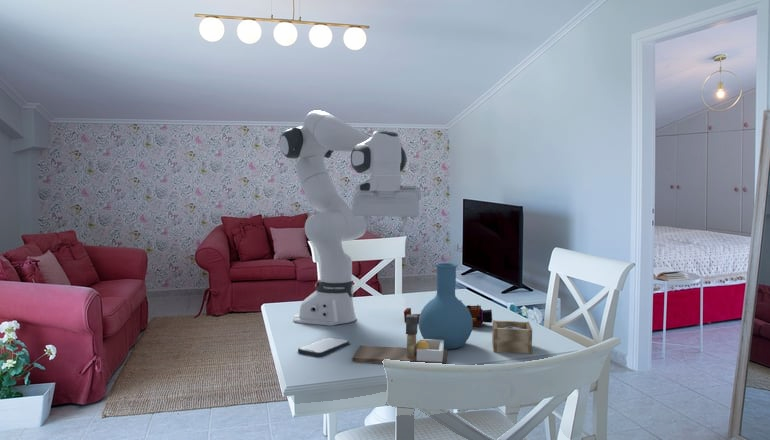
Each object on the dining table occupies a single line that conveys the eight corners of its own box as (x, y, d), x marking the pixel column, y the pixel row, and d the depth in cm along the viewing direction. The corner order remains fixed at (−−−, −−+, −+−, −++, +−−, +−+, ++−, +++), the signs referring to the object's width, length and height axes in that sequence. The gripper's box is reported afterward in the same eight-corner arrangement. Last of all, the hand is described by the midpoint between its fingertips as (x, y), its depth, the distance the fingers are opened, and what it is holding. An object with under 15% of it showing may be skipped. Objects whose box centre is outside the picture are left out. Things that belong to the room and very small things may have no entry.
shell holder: (493, 351, 173) (494, 328, 172) (492, 342, 183) (492, 320, 182) (531, 353, 171) (532, 330, 171) (528, 344, 181) (528, 321, 181)
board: (352, 361, 163) (352, 357, 163) (359, 349, 174) (360, 345, 174) (445, 366, 159) (445, 362, 159) (447, 353, 171) (447, 349, 171)
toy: (412, 300, 222) (492, 297, 215) (413, 318, 222) (494, 316, 215) (397, 316, 196) (488, 313, 189) (399, 336, 197) (490, 335, 189)
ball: (430, 355, 163) (416, 357, 164) (430, 351, 167) (417, 353, 168) (427, 342, 163) (413, 343, 164) (428, 338, 167) (414, 339, 168)
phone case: (327, 341, 185) (295, 353, 171) (327, 336, 184) (295, 348, 171) (351, 345, 180) (320, 358, 166) (351, 340, 180) (320, 353, 166)
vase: (471, 338, 187) (472, 261, 185) (473, 354, 171) (474, 269, 169) (419, 336, 189) (420, 259, 187) (416, 351, 173) (417, 268, 171)
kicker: (405, 356, 163) (405, 318, 163) (407, 350, 169) (407, 313, 169) (415, 357, 163) (416, 318, 162) (417, 350, 169) (418, 313, 168)
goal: (416, 360, 160) (416, 349, 160) (419, 348, 171) (420, 338, 171) (442, 361, 159) (442, 351, 159) (443, 350, 170) (444, 339, 170)
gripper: (422, 185, 175) (421, 231, 176) (355, 184, 178) (355, 230, 179) (420, 185, 169) (419, 233, 170) (351, 185, 172) (351, 232, 173)
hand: (386, 231), depth 175 cm, fingers open, 8 cm apart
